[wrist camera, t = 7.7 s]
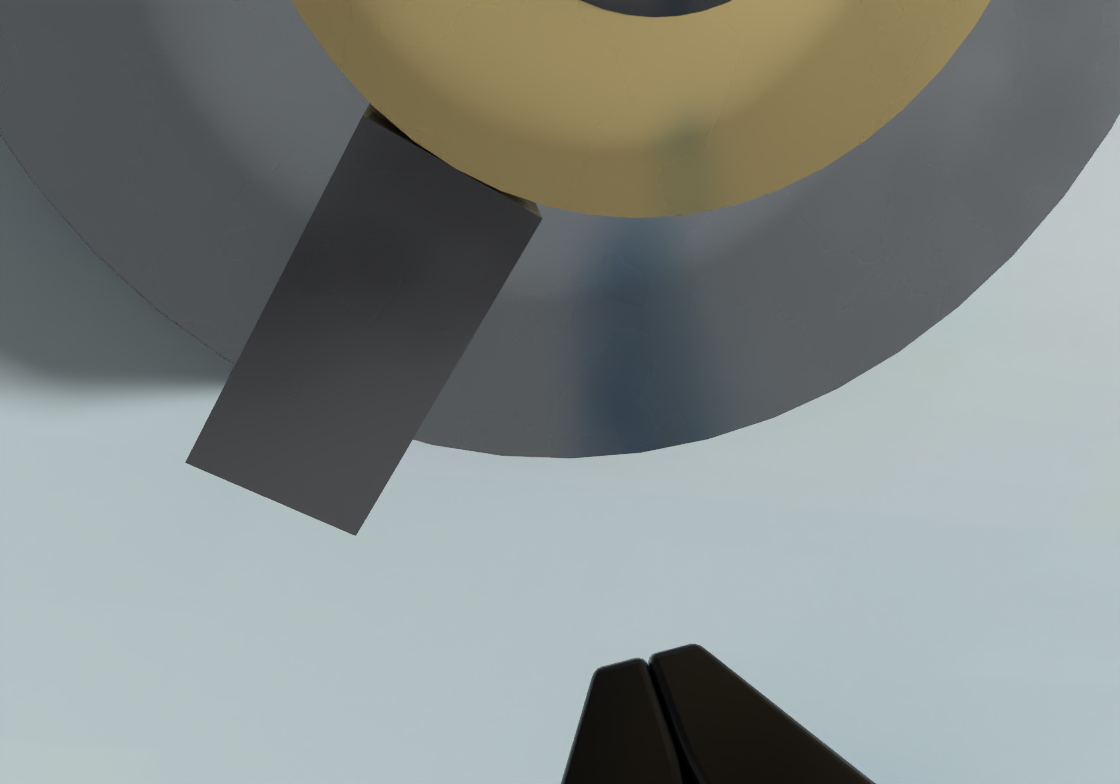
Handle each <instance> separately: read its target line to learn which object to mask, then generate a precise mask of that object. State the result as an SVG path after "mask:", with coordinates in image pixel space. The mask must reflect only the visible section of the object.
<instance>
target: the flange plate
mask: <svg viewBox="0 0 1120 784" xmlns="http://www.w3.org/2000/svg"><path fill="white" fill-rule="evenodd" d="M369 104H370V103H369V101H368V100H367V99H366V98H365V97H364V96H363V95H362V94H361V93H360V92H359V90H358V89H357V88H356V87H355V86H354V85H353V84H352V83H351V82H350V80H349V79H348V78H347V77H346V76H345V75H344V74H343V73H342V72H341V71H340V69H339V68H338V67H337V66H336V65H335V64H334V63H333V61H332V60H331V58H330V57H329V56H328V54H327V53H326V51H325V50H324V49H323V47H322V46H321V44H320V43H319V42H318V40H317V39H316V37H315V36H314V34H313V33H312V32H311V30H310V29H309V27H308V26H307V25H306V23H305V22H304V20H303V19H302V18H301V16H300V14H299V13H298V11H297V9H296V7H295V5H294V3H293V2H292V0H0V135H1V136H2V138H3V139H4V141H5V142H6V144H7V145H8V146H9V148H10V149H11V151H12V152H13V154H14V155H15V157H16V158H17V160H18V161H19V162H20V164H21V165H22V167H23V168H24V170H25V171H26V173H27V174H28V175H29V177H30V178H31V180H32V181H33V183H34V184H35V185H36V186H37V187H38V189H39V190H40V191H41V192H42V193H43V194H44V195H45V197H46V198H47V199H48V200H49V201H50V202H51V203H52V205H53V206H54V207H55V208H56V209H57V210H58V211H59V213H60V214H61V215H62V216H63V217H64V218H65V219H66V221H67V222H68V223H69V224H70V225H71V226H72V228H73V229H74V230H75V231H76V232H77V233H78V234H79V236H80V237H81V238H82V239H83V240H84V241H85V242H86V244H87V245H88V246H89V247H90V248H91V249H92V250H93V252H94V253H96V254H97V255H98V256H99V257H100V258H101V259H102V260H103V261H104V262H105V263H106V264H108V265H109V266H110V267H111V268H112V269H113V270H114V271H115V272H116V273H117V274H119V275H120V276H121V277H122V278H123V279H124V280H125V281H126V282H127V283H128V284H129V285H131V286H132V287H133V288H134V289H135V290H136V291H137V292H138V293H139V294H140V295H142V296H143V297H144V298H145V299H146V300H147V301H148V302H149V303H150V304H151V305H152V306H154V307H155V308H156V309H157V310H158V311H159V312H161V313H162V314H164V315H165V316H166V317H168V318H169V319H171V320H172V321H173V322H175V323H176V324H177V325H179V326H180V327H182V328H183V329H184V330H186V331H187V332H189V333H190V334H191V335H193V336H194V337H195V338H197V339H198V340H200V341H201V342H202V343H204V344H205V345H207V346H208V347H209V348H211V349H212V350H214V351H215V352H216V353H218V354H219V355H220V356H222V357H223V358H225V359H227V360H228V361H230V362H232V363H234V364H236V362H237V360H238V358H239V357H240V355H241V353H242V351H243V349H244V347H245V345H246V343H247V341H248V339H249V337H250V335H251V333H252V331H253V329H254V327H255V325H256V323H257V321H258V319H259V317H260V315H261V313H262V311H263V310H264V308H265V306H266V304H267V302H268V300H269V298H270V296H271V294H272V292H273V290H274V288H275V286H276V284H277V282H278V280H279V278H280V276H281V274H282V272H283V270H284V268H285V266H286V265H287V263H288V261H289V259H290V257H291V255H292V253H293V251H294V249H295V247H296V245H297V243H298V241H299V239H300V237H301V235H302V233H303V231H304V229H305V227H306V225H307V223H308V221H309V219H310V218H311V216H312V214H313V212H314V210H315V208H316V206H317V204H318V202H319V200H320V198H321V196H322V194H323V192H324V190H325V188H326V186H327V184H328V182H329V180H330V178H331V176H332V174H333V173H334V171H335V169H336V167H337V165H338V163H339V161H340V159H341V157H342V155H343V153H344V151H345V149H346V147H347V145H348V143H349V141H350V139H351V137H352V135H353V133H354V131H355V129H356V127H357V126H358V124H359V122H360V120H361V118H362V116H363V114H364V112H365V111H366V109H367V107H368V106H369ZM1119 114H1120V0H990V2H989V4H988V5H987V7H986V8H985V10H984V12H983V13H982V15H981V17H980V18H979V20H978V22H977V23H976V25H975V26H974V28H973V29H972V31H971V32H970V33H969V34H968V36H967V37H966V38H965V40H964V41H963V42H962V44H961V45H960V46H959V47H958V49H957V50H956V51H955V53H954V54H953V55H952V56H951V58H950V59H949V60H948V62H947V63H946V64H945V66H944V67H943V68H942V69H941V71H940V72H939V73H938V74H937V75H936V76H935V77H934V78H933V79H932V80H931V81H930V82H929V83H928V84H927V85H926V86H925V87H924V88H923V89H922V90H921V92H920V93H919V94H918V95H917V96H916V97H915V98H914V99H913V100H912V101H911V102H910V103H909V104H908V105H907V106H906V107H905V108H904V109H903V110H902V111H901V112H899V113H898V114H897V115H896V116H895V117H893V118H892V119H891V120H890V121H888V122H887V123H886V124H885V125H884V126H882V127H881V128H880V129H879V130H878V131H876V132H875V133H874V134H873V135H872V136H870V137H869V138H868V139H867V140H866V141H864V142H863V143H861V144H860V145H858V146H857V147H855V148H853V149H852V150H850V151H849V152H847V153H846V154H844V155H843V156H841V157H840V158H838V159H837V160H835V161H833V162H832V163H830V164H829V165H827V166H826V167H824V168H823V169H821V170H819V171H816V172H814V173H812V174H810V175H808V176H806V177H804V178H802V179H800V180H798V181H796V182H794V183H792V184H790V185H788V186H786V187H784V188H782V189H780V190H777V191H774V192H771V193H768V194H765V195H762V196H759V197H757V198H754V199H751V200H748V201H745V202H742V203H739V204H736V205H733V206H728V207H723V208H718V209H713V210H708V211H704V212H699V213H694V214H689V215H678V216H664V217H650V218H629V217H613V216H596V215H589V214H584V213H579V212H574V211H569V210H563V209H558V208H553V207H548V206H545V205H542V204H539V203H536V202H535V203H536V205H537V207H538V209H539V212H540V214H541V216H542V218H543V219H542V221H541V222H540V224H539V226H538V227H537V229H536V231H535V233H534V234H533V236H532V238H531V239H530V241H529V243H528V244H527V246H526V248H525V250H524V251H523V253H522V255H521V256H520V258H519V260H518V261H517V263H516V265H515V266H514V268H513V270H512V272H511V273H510V275H509V277H508V278H507V280H506V282H505V283H504V285H503V287H502V289H501V290H500V292H499V294H498V295H497V297H496V299H495V300H494V302H493V304H492V306H491V307H490V309H489V311H488V312H487V314H486V316H485V317H484V319H483V321H482V322H481V324H480V326H479V328H478V329H477V331H476V333H475V334H474V336H473V338H472V339H471V341H470V343H469V345H468V346H467V348H466V350H465V351H464V353H463V355H462V356H461V358H460V360H459V362H458V363H457V365H456V367H455V368H454V370H453V372H452V373H451V375H450V377H449V379H448V380H447V382H446V384H445V385H444V387H443V389H442V390H441V392H440V394H439V395H438V397H437V399H436V401H435V402H434V404H433V406H432V407H431V409H430V411H429V412H428V414H427V416H426V418H425V419H424V421H423V423H422V424H421V426H420V428H419V429H418V431H417V433H416V435H415V436H414V438H413V439H414V440H417V441H421V442H424V443H428V444H431V445H437V446H444V447H450V448H456V449H463V450H469V451H476V452H482V453H488V454H495V455H501V456H526V457H553V458H580V457H592V456H605V455H617V454H629V453H641V452H646V451H651V450H656V449H661V448H666V447H671V446H676V445H681V444H685V443H690V442H695V441H700V440H705V439H709V438H712V437H716V436H719V435H722V434H725V433H728V432H731V431H734V430H737V429H740V428H743V427H746V426H749V425H752V424H756V423H759V422H762V421H765V420H768V419H771V418H774V417H776V416H778V415H781V414H783V413H785V412H787V411H789V410H791V409H794V408H796V407H798V406H800V405H802V404H805V403H807V402H809V401H811V400H813V399H816V398H818V397H820V396H822V395H824V394H827V393H829V392H831V391H833V390H835V389H838V388H839V387H841V386H843V385H844V384H846V383H848V382H849V381H851V380H853V379H854V378H856V377H858V376H859V375H861V374H863V373H864V372H866V371H868V370H869V369H871V368H873V367H874V366H876V365H878V364H879V363H881V362H883V361H884V360H886V359H888V358H889V357H891V356H893V355H894V354H896V353H898V352H899V351H901V350H902V349H903V348H905V347H906V346H907V345H909V344H910V343H911V342H913V341H914V340H915V339H916V338H918V337H919V336H920V335H922V334H923V333H924V332H926V331H927V330H928V329H930V328H931V327H932V326H934V325H935V324H936V323H938V322H939V321H940V320H942V319H943V318H944V317H946V316H947V315H948V314H950V313H951V312H952V311H953V310H955V309H956V308H957V307H959V306H960V305H961V304H962V303H963V302H964V301H965V300H966V299H967V298H968V297H969V296H970V295H971V294H972V293H973V292H974V291H976V290H977V289H978V288H979V287H980V286H981V285H982V284H983V283H984V282H985V281H986V280H987V279H988V278H989V277H990V276H991V275H993V274H994V273H995V272H996V271H997V270H998V269H999V268H1000V267H1001V266H1002V265H1003V264H1004V263H1005V262H1006V261H1007V260H1009V259H1010V258H1011V257H1012V256H1013V255H1014V253H1015V252H1016V251H1017V250H1018V249H1019V248H1020V247H1021V245H1022V244H1023V243H1024V242H1025V241H1026V240H1027V238H1028V237H1029V236H1030V235H1031V234H1032V233H1033V231H1034V230H1035V229H1036V228H1037V227H1038V226H1039V225H1040V223H1041V222H1042V221H1043V220H1044V219H1045V218H1046V216H1047V215H1048V214H1049V213H1050V212H1051V211H1052V209H1053V208H1054V207H1055V206H1056V205H1057V204H1058V202H1059V201H1060V200H1061V199H1062V198H1063V197H1064V195H1065V194H1066V193H1067V191H1068V190H1069V188H1070V187H1071V185H1072V184H1073V183H1074V181H1075V180H1076V178H1077V177H1078V175H1079V174H1080V173H1081V171H1082V170H1083V168H1084V167H1085V165H1086V164H1087V162H1088V161H1089V160H1090V158H1091V157H1092V155H1093V154H1094V152H1095V151H1096V150H1097V148H1098V147H1099V145H1100V144H1101V142H1102V141H1103V140H1104V138H1105V137H1106V135H1107V134H1108V132H1109V131H1110V130H1111V128H1112V126H1113V124H1114V123H1115V121H1116V119H1117V117H1118V115H1119Z"/></svg>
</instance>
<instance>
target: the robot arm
mask: <svg viewBox="0 0 1120 784" xmlns="http://www.w3.org/2000/svg"><path fill="white" fill-rule="evenodd" d="M648 665H649V666H648ZM561 784H875V783H874V782H873V781H871V780H870V779H869V778H868V777H866V776H865V775H864V774H863V773H861V772H860V771H859V770H857V769H856V768H855V767H854V766H852V765H851V764H850V763H849V762H847V761H846V760H845V759H844V758H842V757H841V756H840V755H838V754H837V753H836V752H835V751H833V750H832V749H831V748H830V747H828V746H827V745H826V744H825V743H823V742H822V741H821V740H819V739H818V738H817V737H816V736H814V735H813V734H812V733H811V732H809V731H808V730H807V729H806V728H804V727H803V726H802V725H801V724H799V723H798V722H797V721H795V720H794V719H793V718H792V717H790V716H789V715H788V714H787V713H785V712H784V711H783V710H782V709H780V708H779V707H778V706H776V705H775V704H774V703H773V702H771V701H770V700H769V699H768V698H766V697H765V696H764V695H763V694H761V693H760V692H759V691H758V690H756V689H755V688H754V687H752V686H751V685H750V684H749V683H747V682H746V681H745V680H744V679H742V678H741V677H740V676H739V675H737V674H736V673H735V672H733V671H732V670H731V669H730V668H728V667H727V666H726V665H725V664H723V663H722V662H721V661H720V660H718V659H717V658H716V657H715V656H713V655H712V654H711V653H709V652H708V651H707V650H706V649H704V648H703V647H702V646H700V645H697V644H689V645H685V646H681V647H677V648H673V649H669V650H665V651H662V652H658V653H655V654H652V656H651V657H650V658H649V661H648V664H647V662H646V661H645V660H644V659H641V658H634V659H630V660H626V661H622V662H618V663H615V664H611V665H607V666H603V667H600V668H598V669H597V670H596V671H595V672H594V674H593V676H592V679H591V682H590V686H589V689H588V693H587V696H586V699H585V703H584V706H583V710H582V713H581V717H580V720H579V723H578V727H577V730H576V734H575V737H574V741H573V744H572V747H571V751H570V754H569V758H568V761H567V765H566V768H565V771H564V775H563V778H562V782H561Z"/></svg>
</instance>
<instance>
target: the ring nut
mask: <svg viewBox="0 0 1120 784" xmlns="http://www.w3.org/2000/svg"><path fill="white" fill-rule="evenodd" d="M292 2H293V3H294V5H295V7H296V9H297V11H298V13H299V14H300V16H301V18H302V19H303V20H304V22H305V23H306V25H307V26H308V27H309V29H310V30H311V32H312V33H313V34H314V36H315V37H316V39H317V40H318V42H319V43H320V44H321V46H322V47H323V49H324V50H325V51H326V53H327V54H328V56H329V57H330V58H331V60H332V61H333V63H334V64H335V65H336V66H337V67H338V68H339V69H340V71H341V72H342V73H343V74H344V75H345V76H346V77H347V78H348V79H349V80H350V82H351V83H352V84H353V85H354V86H355V87H356V88H357V89H358V90H359V92H360V93H361V94H362V95H363V96H364V97H365V98H366V99H367V100H368V101H369V103H370V104H369V106H368V107H367V109H366V111H365V112H364V114H363V116H362V118H361V120H360V122H359V124H358V126H357V127H356V129H355V131H354V133H353V135H352V137H351V139H350V141H349V143H348V145H347V147H346V149H345V151H344V153H343V155H342V157H341V159H340V161H339V163H338V165H337V167H336V169H335V171H334V173H333V174H332V176H331V178H330V180H329V182H328V184H327V186H326V188H325V190H324V192H323V194H322V196H321V198H320V200H319V202H318V204H317V206H316V208H315V210H314V212H313V214H312V216H311V218H310V219H309V221H308V223H307V225H306V227H305V229H304V231H303V233H302V235H301V237H300V239H299V241H298V243H297V245H296V247H295V249H294V251H293V253H292V255H291V257H290V259H289V261H288V263H287V265H286V266H285V268H284V270H283V272H282V274H281V276H280V278H279V280H278V282H277V284H276V286H275V288H274V290H273V292H272V294H271V296H270V298H269V300H268V302H267V304H266V306H265V308H264V310H263V311H262V313H261V315H260V317H259V319H258V321H257V323H256V325H255V327H254V329H253V331H252V333H251V335H250V337H249V339H248V341H247V343H246V345H245V347H244V349H243V351H242V353H241V355H240V357H239V358H238V360H237V362H236V364H235V366H234V368H233V370H232V372H231V374H230V376H229V378H228V380H227V382H226V384H225V386H224V388H223V390H222V392H221V394H220V396H219V398H218V400H217V402H216V404H215V405H214V407H213V409H212V411H211V413H210V415H209V417H208V419H207V421H206V423H205V425H204V427H203V429H202V431H201V433H200V435H199V437H198V439H197V441H196V443H195V445H194V447H193V449H192V450H191V452H190V454H189V456H188V458H187V460H186V462H185V463H187V464H190V465H192V466H194V467H197V468H199V469H201V470H204V471H206V472H208V473H211V474H213V475H215V476H218V477H220V478H222V479H225V480H227V481H229V482H232V483H234V484H236V485H239V486H241V487H243V488H246V489H248V490H250V491H253V492H255V493H257V494H260V495H262V496H264V497H267V498H269V499H271V500H274V501H276V502H278V503H281V504H283V505H285V506H287V507H290V508H292V509H294V510H297V511H299V512H301V513H304V514H306V515H308V516H311V517H313V518H315V519H318V520H320V521H322V522H325V523H327V524H329V525H332V526H334V527H336V528H339V529H341V530H343V531H346V532H348V533H350V534H353V535H355V536H356V535H357V533H358V531H359V530H360V528H361V526H362V524H363V523H364V521H365V519H366V518H367V516H368V514H369V513H370V511H371V509H372V508H373V506H374V504H375V502H376V501H377V499H378V497H379V496H380V494H381V492H382V491H383V489H384V487H385V485H386V484H387V482H388V480H389V479H390V477H391V475H392V474H393V472H394V470H395V468H396V467H397V465H398V463H399V462H400V460H401V458H402V457H403V455H404V453H405V452H406V450H407V448H408V446H409V445H410V443H411V441H412V440H413V438H414V436H415V435H416V433H417V431H418V429H419V428H420V426H421V424H422V423H423V421H424V419H425V418H426V416H427V414H428V412H429V411H430V409H431V407H432V406H433V404H434V402H435V401H436V399H437V397H438V395H439V394H440V392H441V390H442V389H443V387H444V385H445V384H446V382H447V380H448V379H449V377H450V375H451V373H452V372H453V370H454V368H455V367H456V365H457V363H458V362H459V360H460V358H461V356H462V355H463V353H464V351H465V350H466V348H467V346H468V345H469V343H470V341H471V339H472V338H473V336H474V334H475V333H476V331H477V329H478V328H479V326H480V324H481V322H482V321H483V319H484V317H485V316H486V314H487V312H488V311H489V309H490V307H491V306H492V304H493V302H494V300H495V299H496V297H497V295H498V294H499V292H500V290H501V289H502V287H503V285H504V283H505V282H506V280H507V278H508V277H509V275H510V273H511V272H512V270H513V268H514V266H515V265H516V263H517V261H518V260H519V258H520V256H521V255H522V253H523V251H524V250H525V248H526V246H527V244H528V243H529V241H530V239H531V238H532V236H533V234H534V233H535V231H536V229H537V227H538V226H539V224H540V222H541V221H542V219H543V218H542V216H541V214H540V212H539V209H538V207H537V205H536V203H539V204H542V205H545V206H548V207H553V208H558V209H563V210H569V211H574V212H579V213H584V214H589V215H596V216H613V217H629V218H650V217H664V216H678V215H689V214H694V213H699V212H704V211H708V210H713V209H718V208H723V207H728V206H733V205H736V204H739V203H742V202H745V201H748V200H751V199H754V198H757V197H759V196H762V195H765V194H768V193H771V192H774V191H777V190H780V189H782V188H784V187H786V186H788V185H790V184H792V183H794V182H796V181H798V180H800V179H802V178H804V177H806V176H808V175H810V174H812V173H814V172H816V171H819V170H821V169H823V168H824V167H826V166H827V165H829V164H830V163H832V162H833V161H835V160H837V159H838V158H840V157H841V156H843V155H844V154H846V153H847V152H849V151H850V150H852V149H853V148H855V147H857V146H858V145H860V144H861V143H863V142H864V141H866V140H867V139H868V138H869V137H870V136H872V135H873V134H874V133H875V132H876V131H878V130H879V129H880V128H881V127H882V126H884V125H885V124H886V123H887V122H888V121H890V120H891V119H892V118H893V117H895V116H896V115H897V114H898V113H899V112H901V111H902V110H903V109H904V108H905V107H906V106H907V105H908V104H909V103H910V102H911V101H912V100H913V99H914V98H915V97H916V96H917V95H918V94H919V93H920V92H921V90H922V89H923V88H924V87H925V86H926V85H927V84H928V83H929V82H930V81H931V80H932V79H933V78H934V77H935V76H936V75H937V74H938V73H939V72H940V71H941V69H942V68H943V67H944V66H945V64H946V63H947V62H948V60H949V59H950V58H951V56H952V55H953V54H954V53H955V51H956V50H957V49H958V47H959V46H960V45H961V44H962V42H963V41H964V40H965V38H966V37H967V36H968V34H969V33H970V32H971V31H972V29H973V28H974V26H975V25H976V23H977V22H978V20H979V18H980V17H981V15H982V13H983V12H984V10H985V8H986V7H987V5H988V4H989V2H990V0H292ZM535 202H536V203H535Z"/></svg>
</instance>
